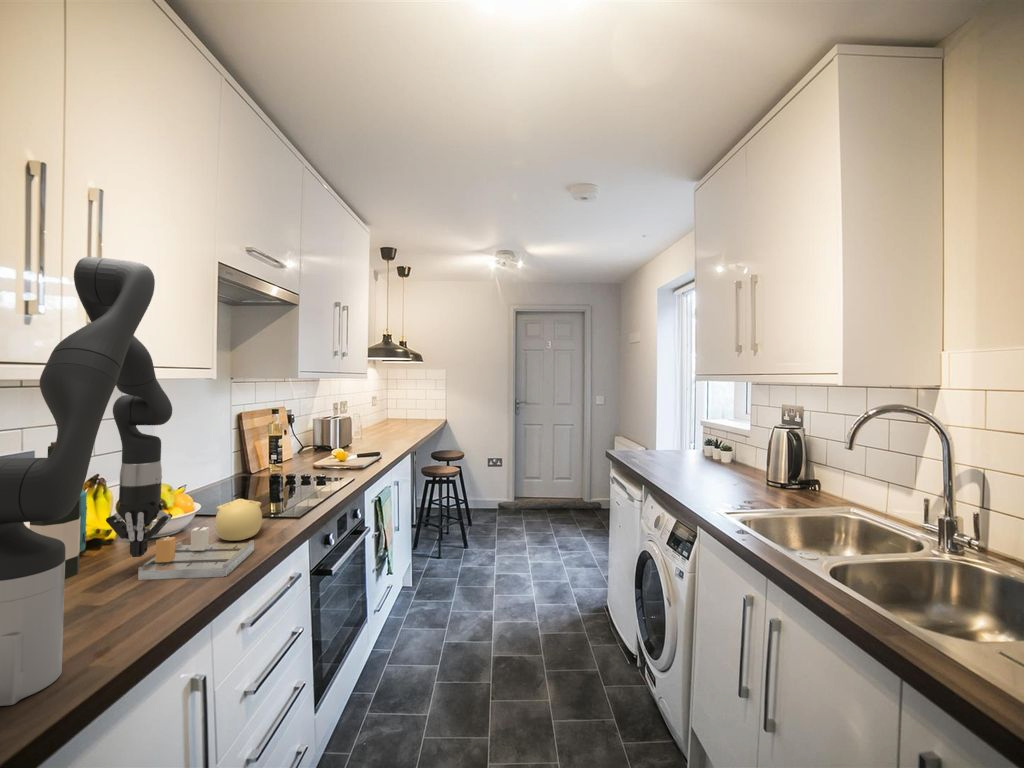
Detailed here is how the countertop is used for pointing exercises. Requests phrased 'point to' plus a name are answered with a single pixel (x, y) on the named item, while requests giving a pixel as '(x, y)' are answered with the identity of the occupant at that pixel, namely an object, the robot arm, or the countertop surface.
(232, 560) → the grey slider board
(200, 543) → the fader
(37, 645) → the robot arm
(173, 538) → the block
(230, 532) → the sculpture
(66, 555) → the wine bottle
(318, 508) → the countertop surface
